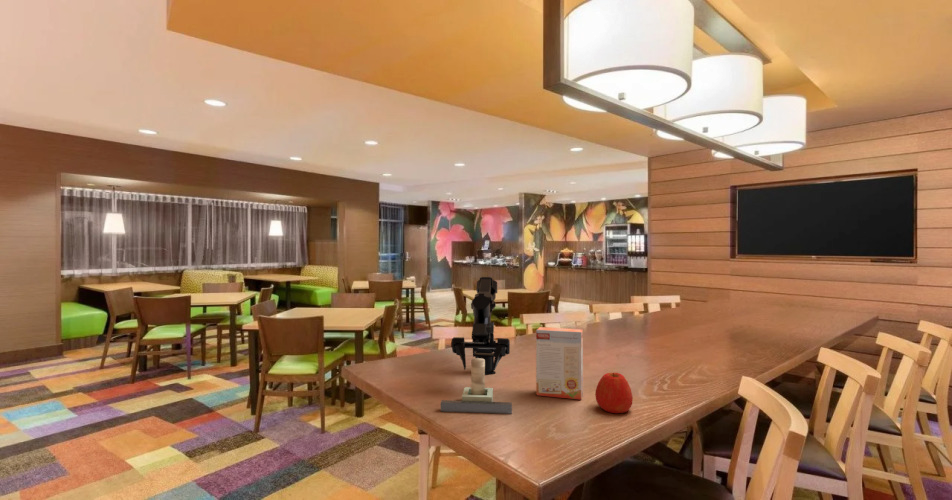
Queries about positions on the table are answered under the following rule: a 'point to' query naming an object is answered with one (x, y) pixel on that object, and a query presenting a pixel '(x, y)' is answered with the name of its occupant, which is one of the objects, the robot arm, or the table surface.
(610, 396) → the apple
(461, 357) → the robot arm
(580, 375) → the cracker box
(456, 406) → the rail
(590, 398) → the table surface
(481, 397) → the socket block
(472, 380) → the birch dowel
